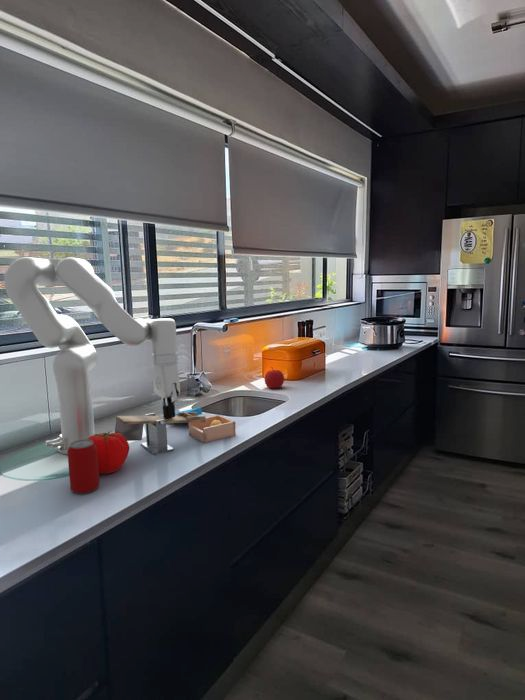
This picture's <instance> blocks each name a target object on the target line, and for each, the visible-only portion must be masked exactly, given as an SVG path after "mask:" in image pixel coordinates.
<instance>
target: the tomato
mask: <svg viewBox="0 0 525 700" xmlns="http://www.w3.org/2000/svg"><path fill="white" fill-rule="evenodd" d="M112 431H113V430H110V431H108V432H102V433H101V432H100V433H95V435H93V436H90V437H89V438H88V440H92V441H93V443H94V444H95V446H96V447H97V458H98V471H99V474H105V475H106V474H110V473H115V472H117V471H119V470H120V469H121V468H122V466H123V465H124V463H125V462H126V460H127V458H128V456H129V452H130V445H129V444H130V443H129V441H127V440H126V439H125V438H124V437H123V436H122V435H121V434H119V433H115V432H112ZM111 432H112V433H111Z"/></svg>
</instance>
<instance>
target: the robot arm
mask: <svg viewBox="0 0 525 700" xmlns="http://www.w3.org/2000/svg"><path fill="white" fill-rule="evenodd" d="M3 284H4V289H5V291H6V294H7V296H8V298H9V300H10V301H11V302H12V304H13V305H14V306H15V308H16V309H17V311H18V312H19V314H20V315H21V316H22V318H23V320H24V321H25V323H26V325H27V326H28V327H29V329H30V331H32V333H33V334H34V336H35V338H36V339H37V341H38V342H39V343H40V344H41V345H42V346H43V347H46V348H49V349H53V348H54V349H55V348H58V349H59V350H60V351H58V353H57V354H56V355H55V357H54V359H53V363H52V370H53V374H54V378H55V382H56V388H57V397H58V398H57V399H58V408H59V418H60V431H61V434H59V437H56V439H50V440H49V439H48V440H45V447H46V448H49V447H52V449H54V448H57V452H59V453H60V454H63V455H68V453H67V451H68V449H69V447H70V444H71V443H72V442H74V441H78V440H85V439H88V438H89V437H90V436H93V435H96V431H95V419H94V417H95V416H94V406H93V405H94V403H93V396H92V385H91V381H90V378H89V372H90V371H92V370H93V369H94V368H95V367H96V365H97V363H98V359H99V358H98V357H99V356H98V353H97V351H96V348H95V346H94V345H93V343H92V342H91V341H90V339H89V338H88V336H87V335H86V334H85V332H84V330H83V329H82V327H81V326H80V325H79V323H78V322H77V321H76V320H75V319H74V318H72V317H71V316H69V315H66V314H59V313H57V312H56V310H55V309H54V307H53V306H52V304H51V303H50V301H49V300H48V298H47V297H45V296H44V294H43V293H42V292H41V291H40V290H39V288H38V287H65V288H66V289H67V290H68V291H70V292H71V293H72V294H73V295H74V296H76V297H77V298H78V300H80V301H81V302H82V303H83V304H85V305H86V306H87V307H88V308H89V309H90V311H92V313H93V314H94V316H96V318H97V319H98V320H99V322H100V323H101V324H102V325H103V326H104V328H106V330H107V331H109V332H110V333H111V334H112V335H113V336H114V337H115V338H117V339H118V340H119V341H121V342H122V344H125V345H127V346H130V347H138V346H141V345H142V344H144V343H146V342H151V353H152V354H151V355H152V364H153V367H152V368H153V371H152V380H153V381H152V382H153V383H152V386H153V393H154V394H155V395H157V396H158V397H160V398H161V404H162V411H163V412H162V413H163V414H162V415H163V417H164V418H166V419H168V418H172V417H175V412H176V410H175V409H176V408H175V405H176V402H177V401H178V397H179V396H180V395H181V386H180V385H181V383H180V374H179V369H178V364H179V356H178V341H177V339H178V338H177V325H176V322H175V320H174V319H173V318H169V317H168V318H167V317H166V318H165V317H164V318H154V319H149V318H139V317H138V318H134V317H132V316H131V314H129V313H128V312H127V311H126V310H125V309H124V308H123V307H122V306H121V305H120V304H119V302H118V301H117V299H116V296H115V292H114V290H113V289H112V288H111V286H109V285H108V284H107V283H106V282H104V281H103V280H102V279H101V278H100V277H99V276H98V275H97V274H95V271H94V268H93V266H92V265H91V263H90V262H88V261H87V260H85V259H83V258H78V257H66V258H62V259H61V258H59V259H57V258H39V257H32V256H31V257H30V256H29V257H28V256H26V257H25V256H24V257H20V258H18V259H15V260H14V261H13V262H11V263H10V265H9V266H8V267H7V269H6V271H5V275H4V283H3Z"/></svg>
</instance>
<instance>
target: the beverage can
mask: <svg viewBox="0 0 525 700" xmlns="http://www.w3.org/2000/svg"><path fill="white" fill-rule="evenodd" d="M67 453H68V454H67V462H68V474H69V485H70V490H71V491H72V492H74V493H76V494H79V495H83V494H89V493H92V492H94V491H95V490H96V489H97V488H98V487H99V486H100V475H99V471H98V458H97V447H96V446H95V444H94V443H93V441H92V440H88V439H85V440H78V441H74V442H72V443H71V444H70V447H69V449H68V451H67Z"/></svg>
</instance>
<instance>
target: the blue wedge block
mask: <svg viewBox="0 0 525 700" xmlns="http://www.w3.org/2000/svg"><path fill="white" fill-rule="evenodd" d="M202 409H203V408H202V407H200V406H199V407H194V408H192V409H191V408H190V409H185V410H181V411H175V415H178V412H197V413H196V416H200V415H203V413H204V412H203V410H202Z"/></svg>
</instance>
